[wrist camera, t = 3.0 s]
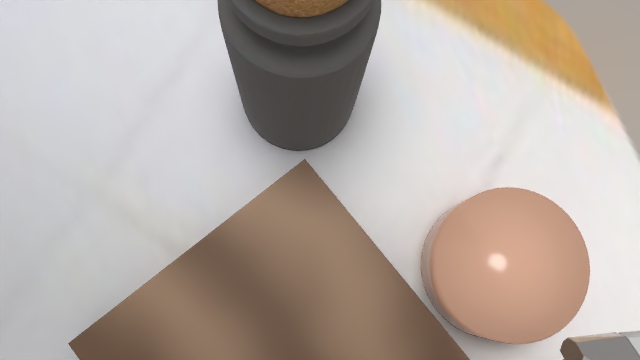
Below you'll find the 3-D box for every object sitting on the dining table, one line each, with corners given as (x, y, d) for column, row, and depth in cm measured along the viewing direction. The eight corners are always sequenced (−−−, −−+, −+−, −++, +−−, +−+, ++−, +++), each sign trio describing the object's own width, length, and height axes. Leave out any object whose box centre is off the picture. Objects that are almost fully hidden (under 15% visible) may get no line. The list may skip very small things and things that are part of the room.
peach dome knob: (483, 367, 28) (509, 377, 25) (392, 256, 29) (404, 252, 26) (583, 276, 30) (621, 275, 26) (492, 172, 30) (517, 157, 27)
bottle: (375, 112, 31) (449, -53, 16) (283, 173, 30) (271, 57, 15) (313, 27, 31) (328, -207, 17) (221, 83, 31) (153, -110, 16)
